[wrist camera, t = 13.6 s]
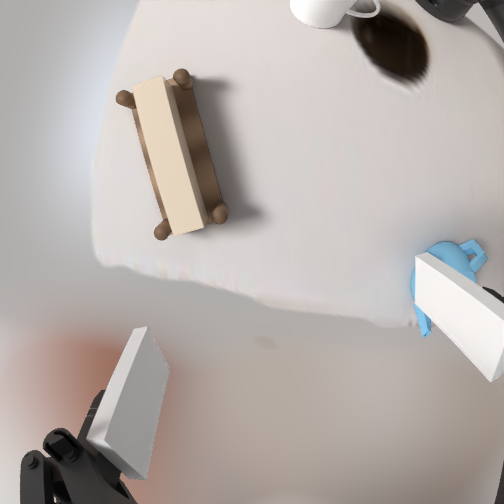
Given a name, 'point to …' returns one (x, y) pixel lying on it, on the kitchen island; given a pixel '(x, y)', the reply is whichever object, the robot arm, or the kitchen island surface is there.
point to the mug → (326, 11)
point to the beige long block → (169, 155)
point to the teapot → (457, 260)
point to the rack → (196, 149)
